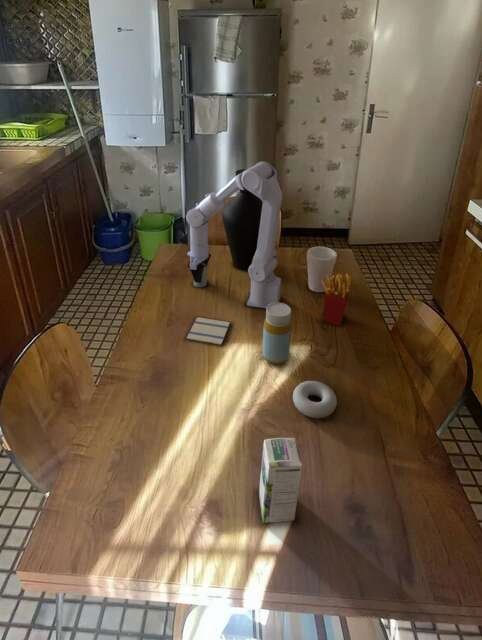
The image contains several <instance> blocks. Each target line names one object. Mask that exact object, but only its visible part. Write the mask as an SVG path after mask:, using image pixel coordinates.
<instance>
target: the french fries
mask: <svg viewBox="0 0 482 640" xmlns="http://www.w3.org/2000/svg"><path fill="white" fill-rule="evenodd" d="M326 277H327V279H328V283H329V284H328V286H327V284H326V282H325V280H324V279H323V280H322V281H321V282H322V283H323V285H324V287H325V290H326V291H325V292H324V297H323V298H324V300H323V301H324V302H323V303H324V304H323V323H328V324H331V325H335V326H341V325H342V322H343V319H344V314H345V311H346V306H347V303H348V298H349V294H350V291H351V285H352V275H350V273H345V277H346V282H344V280H343V274H341V273H337V274H336V275H334V274H332V275H331V278H330V277H329V276H328V275H327V276H326ZM334 279H335V280H334Z"/></svg>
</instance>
